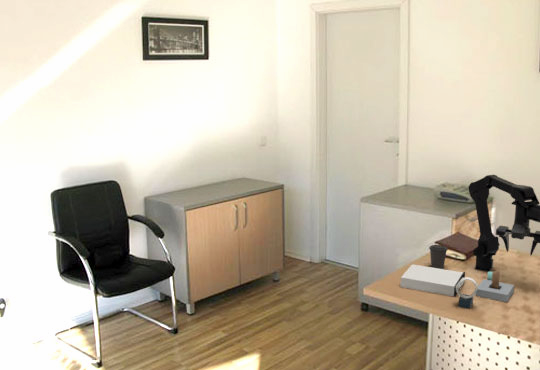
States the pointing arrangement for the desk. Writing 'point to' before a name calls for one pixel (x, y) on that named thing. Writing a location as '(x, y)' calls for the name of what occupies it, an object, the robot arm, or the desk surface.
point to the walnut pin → (495, 280)
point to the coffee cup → (438, 256)
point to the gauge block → (495, 291)
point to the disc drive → (432, 280)
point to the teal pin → (489, 276)
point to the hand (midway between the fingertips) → (519, 253)
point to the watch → (464, 299)
